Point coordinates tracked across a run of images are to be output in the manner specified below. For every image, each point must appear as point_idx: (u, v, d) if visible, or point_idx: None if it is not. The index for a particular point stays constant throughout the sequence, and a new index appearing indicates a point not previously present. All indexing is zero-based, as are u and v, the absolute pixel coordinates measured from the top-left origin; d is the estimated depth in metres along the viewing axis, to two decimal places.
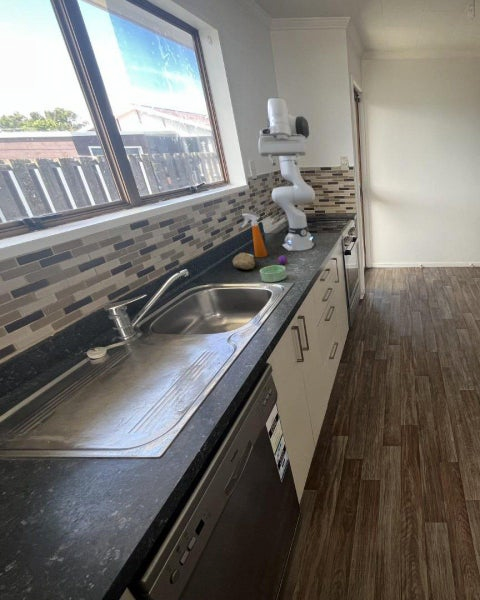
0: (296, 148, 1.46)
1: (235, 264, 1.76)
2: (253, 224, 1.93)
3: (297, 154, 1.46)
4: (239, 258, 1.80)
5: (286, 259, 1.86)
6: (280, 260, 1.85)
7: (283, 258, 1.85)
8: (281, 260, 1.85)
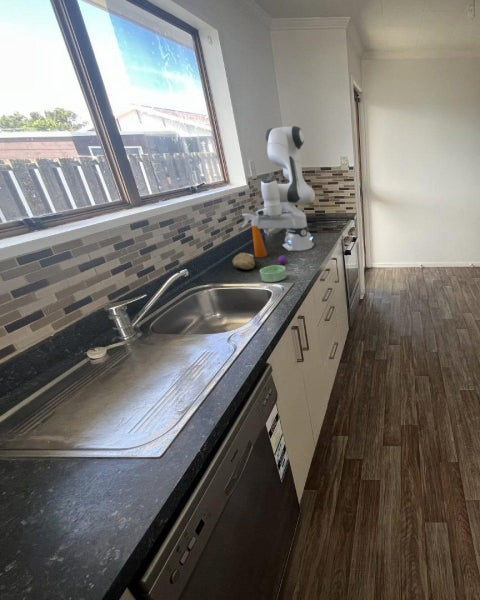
0: (285, 225, 1.77)
1: (235, 264, 1.76)
2: (253, 224, 1.93)
3: (287, 229, 1.78)
4: (239, 258, 1.80)
5: (286, 259, 1.86)
6: (280, 260, 1.85)
7: (283, 258, 1.85)
8: (281, 260, 1.85)
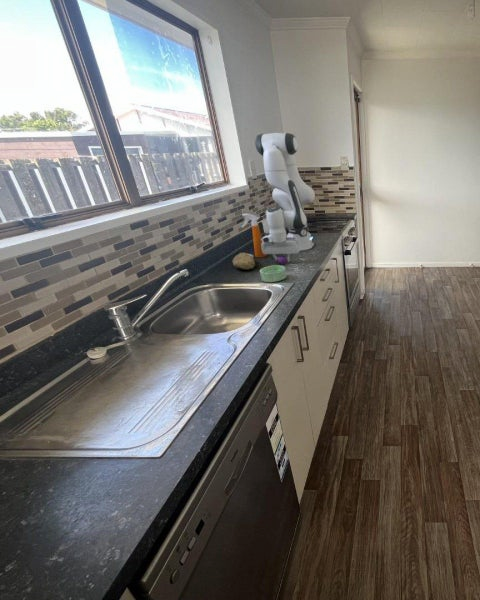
0: (290, 251, 1.83)
1: (235, 264, 1.76)
2: (253, 224, 1.93)
3: (288, 255, 1.85)
4: (239, 258, 1.80)
5: None
6: (280, 260, 1.85)
7: (283, 258, 1.85)
8: (282, 260, 1.85)
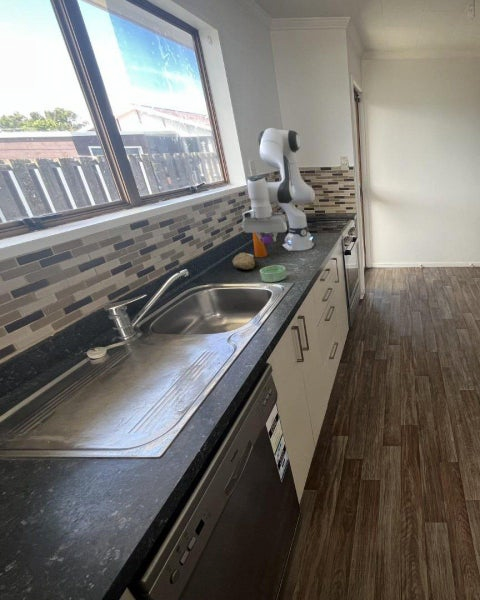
0: (276, 229, 1.57)
1: (235, 264, 1.76)
2: None
3: (274, 233, 1.58)
4: (239, 258, 1.80)
5: None
6: (265, 240, 1.58)
7: (268, 237, 1.59)
8: (266, 240, 1.58)
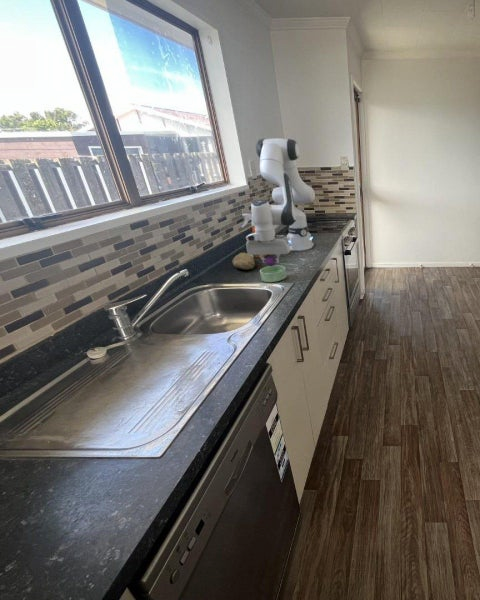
0: (279, 251, 1.59)
1: (235, 264, 1.76)
2: (253, 224, 1.93)
3: (277, 255, 1.61)
4: (239, 258, 1.80)
5: None
6: (268, 261, 1.61)
7: (271, 259, 1.62)
8: (270, 262, 1.61)
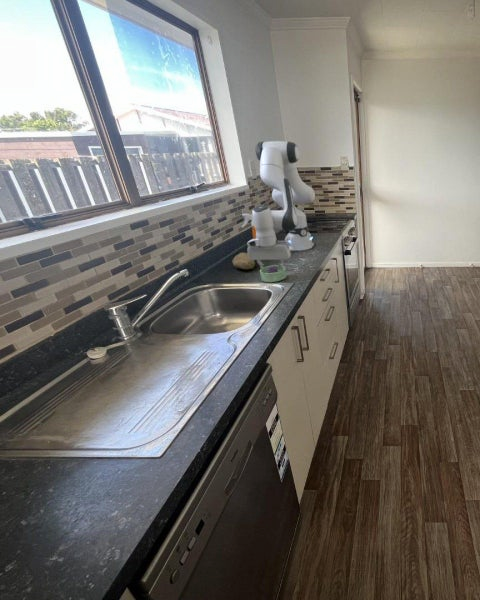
0: (280, 256, 1.61)
1: (235, 264, 1.76)
2: (253, 224, 1.93)
3: (281, 260, 1.62)
4: (239, 258, 1.80)
5: None
6: None
7: (274, 271, 1.64)
8: None
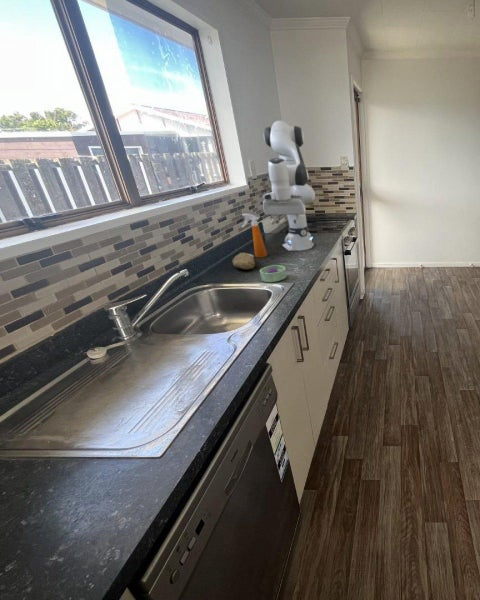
0: (295, 211, 1.61)
1: (235, 264, 1.76)
2: (253, 224, 1.93)
3: (296, 215, 1.62)
4: (239, 258, 1.80)
5: None
6: None
7: (273, 271, 1.64)
8: None
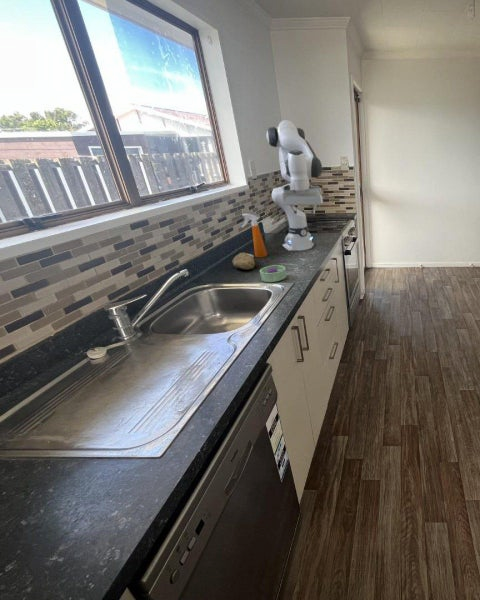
0: (313, 201, 1.66)
1: (235, 264, 1.76)
2: (253, 224, 1.93)
3: (314, 206, 1.68)
4: (239, 258, 1.80)
5: None
6: None
7: (273, 271, 1.64)
8: None
